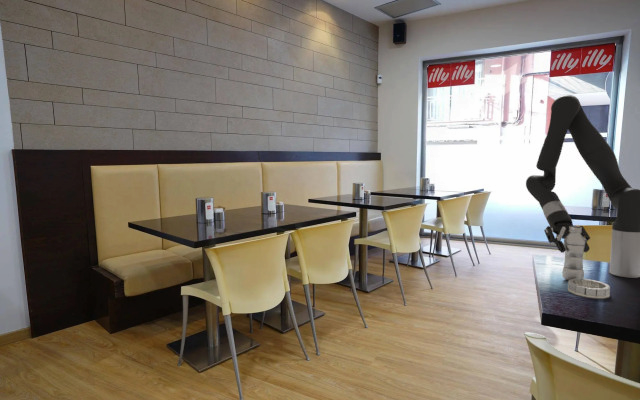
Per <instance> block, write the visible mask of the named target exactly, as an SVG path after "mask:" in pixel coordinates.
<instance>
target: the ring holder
mask: <svg viewBox="0 0 640 400" xmlns="http://www.w3.org/2000/svg"><path fill="white" fill-rule="evenodd" d="M567 291H568V292H569V293H570V294H573V295H575V296H578V297H583V298H587V299H595V300H597V299H599V300H602V299H608V298H610V296H611V294H610V293H611V287H610V285H609V284H607V283H605V282H602V281H598V280H595V279H587V278H583V279H571V280H568V286H567Z"/></svg>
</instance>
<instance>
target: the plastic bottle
mask: <svg viewBox="0 0 640 400" xmlns="http://www.w3.org/2000/svg"><path fill="white" fill-rule="evenodd" d="M581 229H582V227H580V226H578V225H577V226H576V225H575V226H574V225H573V226H570V227H569V232H570V233H569V234H568V235H567V236H566V237H565V239H563V245H564V247H565V249H566V251H565V252H564V263H563V269H562V271H561V274H562V277H563V279H564V280H566V281H569V280H571V279H585V278H584V277H585V271H584V263H583V261H584V259H583V258H584V253H585V252H584V248H585V240H584V238H583V236H582V235H581V233H582V231H581Z"/></svg>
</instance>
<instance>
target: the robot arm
mask: <svg viewBox="0 0 640 400" xmlns="http://www.w3.org/2000/svg"><path fill="white" fill-rule="evenodd" d="M550 108H551V109H550V111H551V112H550V120H549V124H548V130H547V134H546V137H545V139H544V142H543V144H542V147H541V150H540V153H539V156H538V159H537V162H536V169H537V170H539V171H542V172H543V175H537V174H534V175H533V174H532V175H530V176H528V177H527V179H526V181H525V186H526V187H525V188H526V189H527V191H528V192H529V193H530V195H531V196H532V197H533V198H534V199H535V200H536V201H537V202H538V204H539V206H540V207H541V210H542V212H543V215H544V217H545V219H546V221H547V223H548V225H547V226H546V227H545V228H544V234H545V236H546V238H547V239H546V240H547V241H548V243H550V244H551V243H553V244H555V245H556V248H557V250H558V251H559V252H560V253H563V254H565V251H566V249H565V247H564V242H563V241H562V239H563V240H564V239H565V237H566V236H567V235H568V234H569V233H570V232H569V227H570V226H574V224H573V220H572V218H571V216H570V214H569V212H568V211H567V209H566V207H565V206H564V204H563V202H561V199H560V197H559V196H558V194H557V193H556V192H554V191H553V190H554V188H555V186H556V171H557V165H558V163H559V160H560V157H561V154H562V150H563V147H564V142H565V137H566V136H567V132H568V131H569V133H570V136H571V137H572V140H573V143H574V145H575V147H576V149H577V151H578V153H579V155H580V157H581V158H582V160H584V162H585V164H586V165H587V167H588V168H589V169H590V170H591V172H592V174H593V175H594V176H595V177H596V179H597V180H598V181H599V182H600V184H601V186H602V187H603V189H604V192H605V193H606V196H607V197H608V199H609V202H610V203H611V205H612V207H613V208H615V209H616V210H617V217H616V220H614V221H613V222H612V227H611V241H610V242H611V243H610V256H609V257H610V259H609V271H608V272H609V274H611V275H613V276H617V277H622V278H628V279H629V278H630V279H631V278H632V279H638V278H640V189H639V188H633V187H632V186H631V185H630V184H629V183H628V182H627V180H626V179H625V178H624V176H623V175H622V173H621V170H620V167H619V163H618V159H617V157H616V154H615V152H614V151H613V149H612V148H611V146H610V145H609V143H608V142H607V140H606V139H605V138H604V137H603V135H602V134H601V133H600V131H598V129H597V128H596V127H595V126H594V125H593V124H592V122H591V121H590V120H589V118H588V116H587V115H586V113H585V111H584V109H583V107H582V105H581V102H580V100H579V98H578V97H576V96H575V95H572V94H563V95H560V96H559V97H557V98H556V99H555V100H554V101H553V102H552V104H551V107H550ZM579 227H582V229H581V231H582V233H581V235H582V236H583V238H584V240H585V248H584V252H583V253H588V252H589V251H590V245H589V244H588V241H590V240H591V237H590V235H589V233H588V232H587V231H586V230H587V229H585V227H584V226H583V225H579ZM554 234H555V235H556V236H555V235H554Z"/></svg>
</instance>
